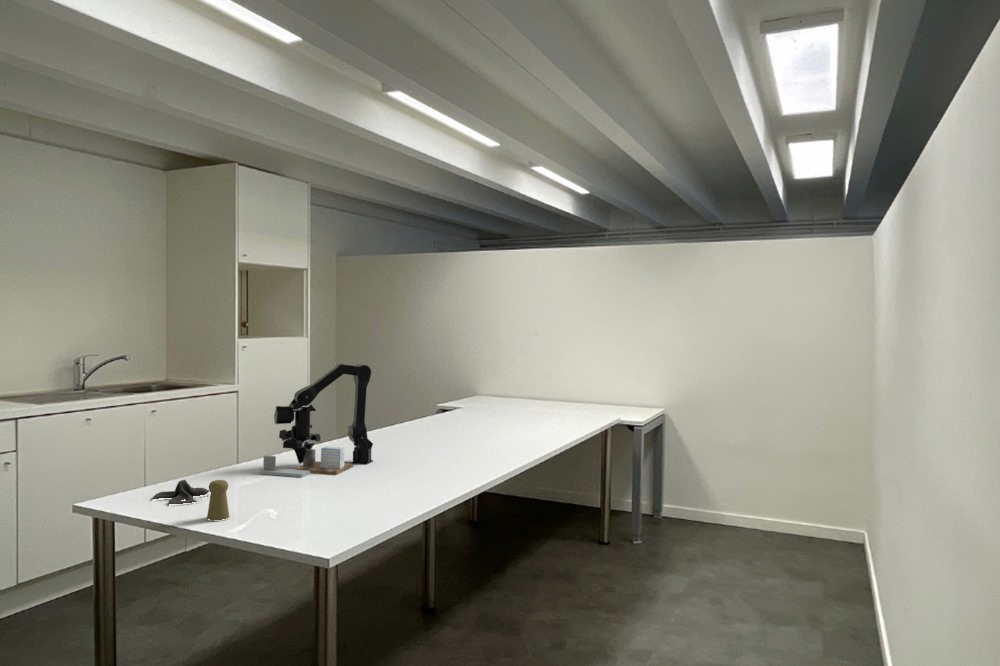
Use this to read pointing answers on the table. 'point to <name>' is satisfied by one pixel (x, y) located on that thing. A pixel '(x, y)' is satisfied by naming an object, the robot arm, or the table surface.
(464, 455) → the table surface
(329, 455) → the medicine box
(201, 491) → the cloth
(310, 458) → the brown wooden frame
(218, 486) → the cork
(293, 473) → the grey strip
